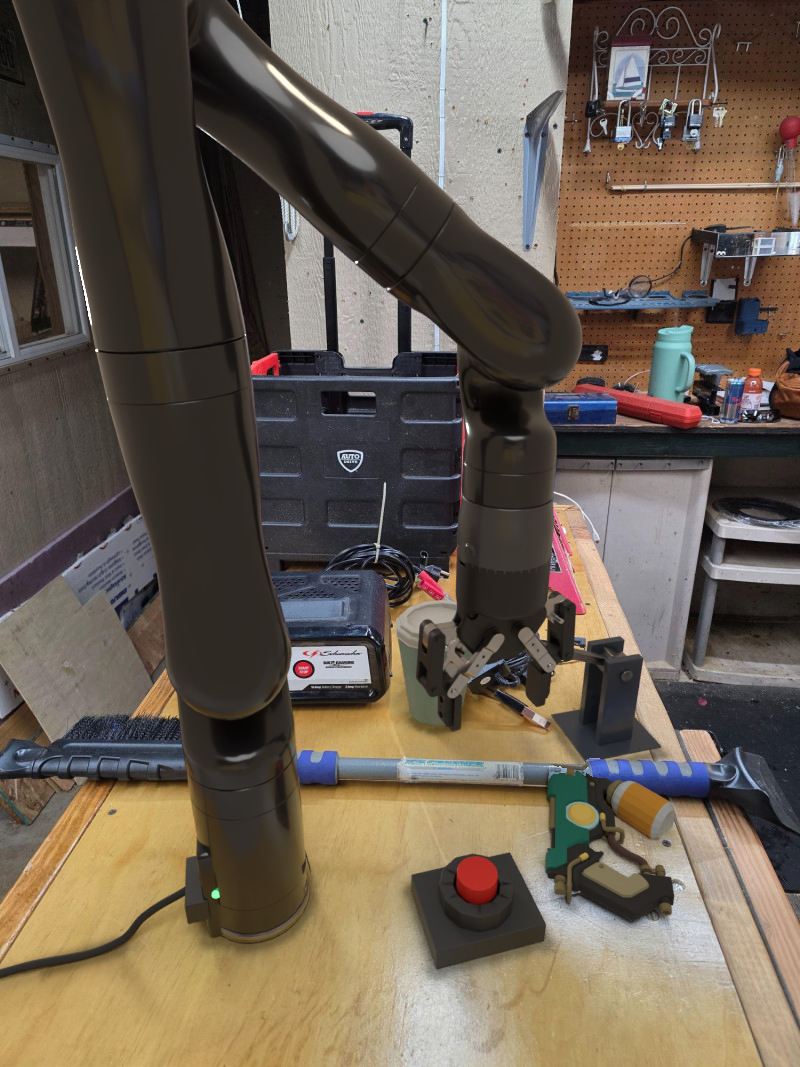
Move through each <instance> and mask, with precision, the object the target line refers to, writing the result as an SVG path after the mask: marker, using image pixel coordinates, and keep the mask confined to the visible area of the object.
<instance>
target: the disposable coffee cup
mask: <svg viewBox="0 0 800 1067" xmlns="http://www.w3.org/2000/svg"><path fill="white" fill-rule="evenodd" d="M456 610H457V601H456V600H455V601H454V600H447V599H440V600H438V599H437V600H428V601H422V602H420V603H417V604H414V605H411V606H408V608H406V609H405V610H404V611H403V612H402V613H401V614H400V615H399V616H398V617H397V618H396V619H395V625H394V631H395V637H396V638H397V642H398V648H399V649H398V650H399V654H400V661H401V667H402V673H403V679H404V685H405V692H406V697H407V703H408V710H409V716H411V717H412V718H413V719H414V720H415V721H416V722H417V723H420V724H422V725H426V726H429V727H446V726H445V725H444V723H443V722H442V721H441V719H440V718H439V716H438V714H437V707H438V696H436V697H430V696H429V695H428V694H427V692H426V690H425V689H424V688H423V686H422V685H421V684H420V683H419V682H418V681H417V679H416V668H417V655H418V641H419V627H420V624H421V622H422V621H424V620H426V619H430V620H431V621H432V622H433V623H434V624H438V623H445V622H451V621H452V619H453V617H454V616H455V613H456ZM456 638H457V637H454V638H452V639H451V641H450V644H449V647H451V646H452V644H453V643H454V641H455V640H456ZM447 652H448V651H445V653H444V663H445V661H446V660H447ZM464 656H465V658H466V659H467V660H468V661H469V660H470V659H471V657H472V656H473V655H472V654H471V653H470V652H469V651H468V649H467V650H466V651H465V654H464ZM457 670H458V669H457ZM457 670H456V672H455V673H454V675H455V674H456V673H457ZM454 675H453V676H452V678H453V677H454ZM468 683H469V681H468V682H467V684H466V685H465V687H464V688H463V689H462V691H461V692H460V694H461V696H462V709H463V708H464V703H465V698H466V693H467V690H468V689H467V688H468V685H469V684H468Z"/></svg>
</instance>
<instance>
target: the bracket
mask: <svg viewBox="0 0 800 1067" xmlns="http://www.w3.org/2000/svg"><path fill="white" fill-rule="evenodd" d="M625 642H626V640H625V639H624V638H623V637H622V636H621V635H618V636H611V637H605V638H599V639H593V640H588V641H587V644H586V651H589V652H594V653H599V654H600V653H601V651H602V649H603V647H606V648H610V649H615V650H619V651H622V652H623V653H624V648H625ZM643 666H644V656H642V655H641V654H640V653H635V654H628V655H627V656H622V657H616V658H610V659H605V665H604V673H603V672H602V671H601V670H600V669H599V667H598V666H597V665H596V664H592V663H587V662H584V671H583V680H582V688H581V697H580V705H579V709H574V710H568V711H563V712H557V713H552V714H551V715H550V716H551V718H552V719H553V721H554V722H555V723H556V725H557V726H558V727H559V729H560V730H561V732H562V733H563V734H564V736H565V737H566V738H567V739H568V741H569V742H570V744H571V745H572V746H573V748H574V749H575V750H576V752H577V753H578V754H579V756H580V757H581V759H582V760H583V761H584V764H586V760H587V759H589V758H600V759H602V760H607V759H612V758H617V757H622V756H627V755H632V754H637V753H641V752H642V753H643V752H647V751H651V750H656V749H661V748H662V745H661V744H660V743H659V742H658V741H657V739H656V738H655V737H654V736H653V735H652V734H651V733H650V732H649V731H648V730H647V729H646V727H645V726H643V724H642V723H641V722H640V721H639V720H638V719H637V717H636V711H637V704H638V697H639V692H640V691H639V690H640V684H641V679H642V678H641V677H642V670H643Z"/></svg>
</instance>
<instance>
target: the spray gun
mask: <svg viewBox="0 0 800 1067" xmlns="http://www.w3.org/2000/svg"><path fill="white" fill-rule="evenodd" d="M549 765H554V766H557V767H559V766H561V767H562V768H567V772H566V773H559V774H553V775H552V776H551V778H550V779H549V781H548V783H547V782H546V784H547V785H546V788H547V789H546V798H547V801H548V802H549V832H550V833H551V836H550V837H551V838H550V839H551V841H550V845H551V847H547V850H546V853H545V874H547V876H546V877H547V878H548V879H552V880H553V882H554V885H553V886H554V888H553V889H554V890H553V893H554V894H555V895H561V896H562V898H564V897H565V896H566V904H571V902H572V896H573V897H577V896H579V894H580V895H582V896H583V897H586V898H587V899H589V900H591V901H592V902H594V903H596V904H599V905H600V906H602V907H604V908H605V909H608V910H610V911H611V912H613V913H615V914H617V915H619V916H621V917H623V918H625V919H627V920H628V921H630V922H634V923H635V921H637V920H639V919H641V918H643V917H645V916H646V915H647V914H649V913H651V912H653V911H654V910H657V908H658V909H659V913H660V914H661V915H663V916H671V915H672V913H673V907H672V906H674V904H675V892H674V885H673V879H672V877H671V876H667V872H666V869H665V867H664V865H663V864H656V865H655V868H653V867H651V865H650V864H649V863H648V861H647V860H646V859H645V858H644V857H643V856H641V855H639V854H637V853H634V852H633V851H631V850H629V849H628V848H625V847H624V846H622V845H623V844H624V843H625V838H626V834H625V830H624V829H623V828H621V827H619V826H616V818H615V815H616V816H617V817H618V818H619V819H621V820H622V821H624V822H625V823H627V824H628V825H630V826H632V827H633V828H634V829H636V830H637V831H639V832H640V833H642V834H643V835H645V836H646V837H648V838H649V839H650V840H659V839H661V838H662V836H663V835H664V834H665V833H666V832H668V830H669V829H671V828H672V826H673V824H674V822H675V819H676V812H675V807H674V805H673V803H672V802H671V801H669V799H666V798H665V797H662V796H661V795H659V794H657V793H656V792H654V791H652V790H650V789H649V788H647V787H645V786H644V785H642V784H641V783H638V782H636V781H633V780H626V781H623V780H621V779H616V780H614V781H613V782H612V781H611V780H610V779H609V778H607V777H605V778H597V777H592V776H590V775H589V774H587V773H586V776H584V775H583V774H582V773H583V771H584V770H585V769H586V768H587V767H588V766H589V765H588V764H586V763H584V764H582V765H581V766H578V765H568V764H558V763H550V764H549ZM604 796H605V799H604ZM605 800H606V801H605ZM605 802H606V803H607V804H608V805H610V806H611V808H610V807H609V806H608V805H607V804H606V803H605ZM617 833H619V838H618V840H617V839H616V837H615V836H616V834H617ZM599 838H601V840H602V841H604V842H605V843H609V845H610V846H611V847H612V848H613V849H614V850H615V851H616V852H617V853H619V854H620V855H621V856H623V857H625V858H627V859H628V860H630V861H632V862H635V863H637V864H638V865H640V868H639V869H640V872H638V873H637V872H635V873H633V874H631V875H629V876H626V875H624V874H623V873H621V872H619V871H618V870H616V869H614V868H613V867H611V866H609V865H607V864H606V863H604V862H602V861H600V859H602V858H603V857H604V855H605V853H604V852H605V851H603V850H600V851H597V850H594V849H593V848H592V847H590V842H592V841H594V840H597V839H599ZM572 892H573V893H572Z"/></svg>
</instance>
